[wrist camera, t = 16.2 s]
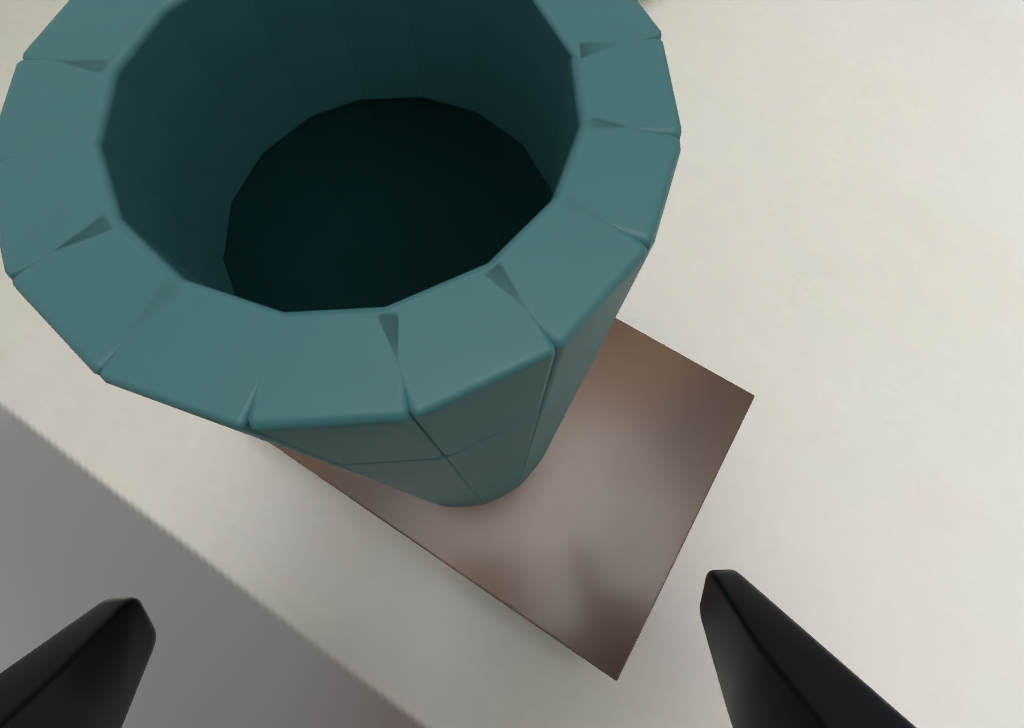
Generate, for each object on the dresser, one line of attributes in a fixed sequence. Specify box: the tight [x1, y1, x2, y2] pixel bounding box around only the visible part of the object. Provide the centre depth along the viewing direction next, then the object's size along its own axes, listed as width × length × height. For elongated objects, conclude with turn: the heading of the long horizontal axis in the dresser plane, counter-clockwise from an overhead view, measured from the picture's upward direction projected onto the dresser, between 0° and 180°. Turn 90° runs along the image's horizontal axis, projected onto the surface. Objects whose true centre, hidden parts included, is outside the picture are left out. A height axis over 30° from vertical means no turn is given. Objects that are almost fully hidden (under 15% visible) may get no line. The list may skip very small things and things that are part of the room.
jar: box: [0, 0, 681, 507], centre depth 10 cm, size 6×6×13 cm
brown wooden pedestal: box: [271, 318, 754, 681], centre depth 19 cm, size 16×10×4 cm, turn 58°
